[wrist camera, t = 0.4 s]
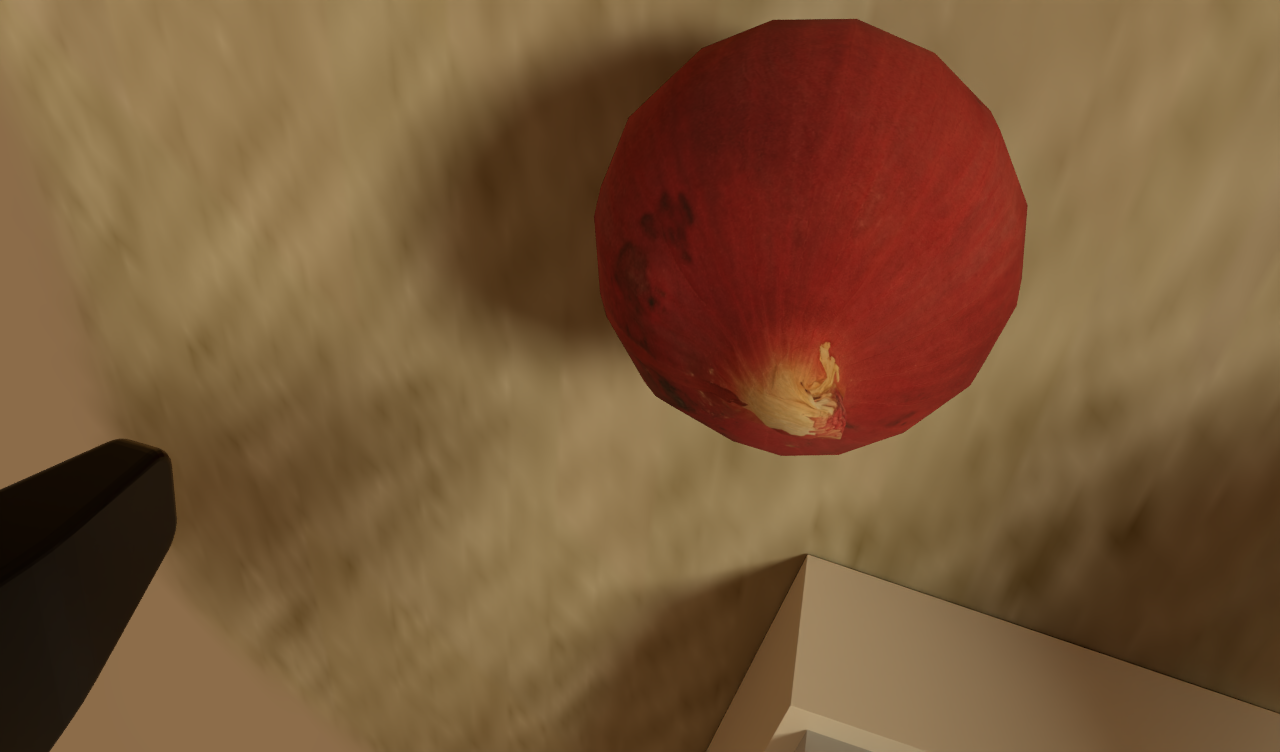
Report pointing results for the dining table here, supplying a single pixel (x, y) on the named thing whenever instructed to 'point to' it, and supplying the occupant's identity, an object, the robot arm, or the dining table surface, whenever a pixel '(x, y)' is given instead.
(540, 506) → the dining table surface
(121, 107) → the dining table surface
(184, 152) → the dining table surface
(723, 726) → the display pedestal
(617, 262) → the onion
